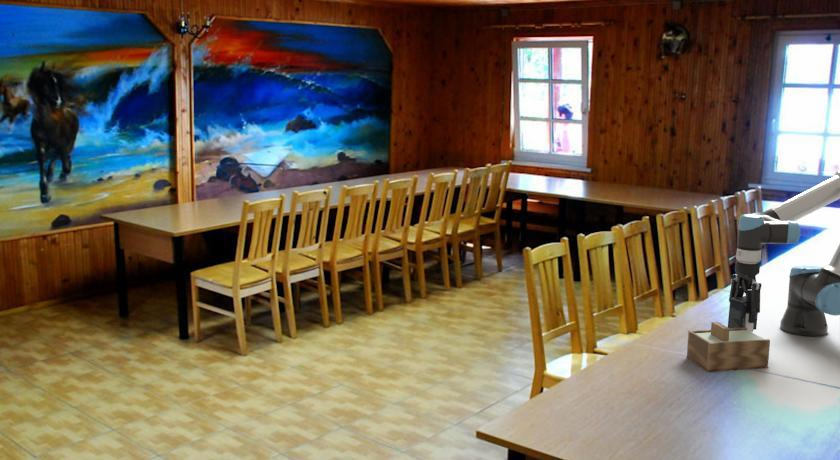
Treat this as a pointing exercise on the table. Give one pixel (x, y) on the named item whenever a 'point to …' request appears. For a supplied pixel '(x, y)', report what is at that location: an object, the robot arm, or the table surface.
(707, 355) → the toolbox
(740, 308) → the box
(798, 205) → the robot arm
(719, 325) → the lid
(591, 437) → the table surface
